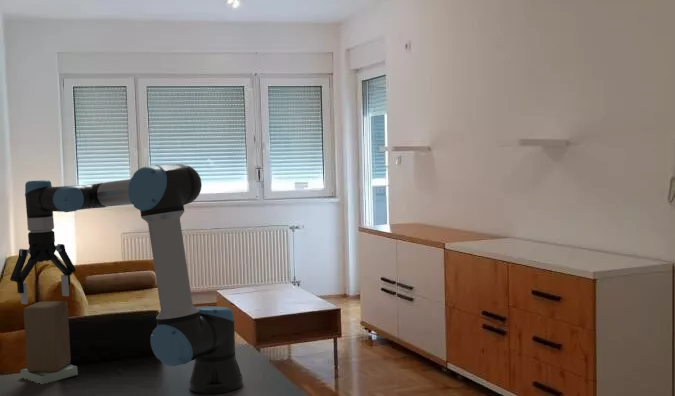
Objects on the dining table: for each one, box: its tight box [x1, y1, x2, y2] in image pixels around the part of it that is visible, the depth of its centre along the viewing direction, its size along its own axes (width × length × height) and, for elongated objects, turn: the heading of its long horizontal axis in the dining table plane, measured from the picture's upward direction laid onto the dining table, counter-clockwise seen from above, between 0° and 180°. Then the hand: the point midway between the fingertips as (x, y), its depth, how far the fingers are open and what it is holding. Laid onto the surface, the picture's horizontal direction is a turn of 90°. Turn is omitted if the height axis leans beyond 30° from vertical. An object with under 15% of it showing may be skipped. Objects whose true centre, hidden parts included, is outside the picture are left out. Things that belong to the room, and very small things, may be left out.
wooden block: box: [23, 300, 71, 372], centre depth 235 cm, size 10×10×20 cm
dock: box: [20, 363, 79, 385], centre depth 236 cm, size 12×12×3 cm
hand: (45, 299), depth 234 cm, fingers open, 13 cm apart
